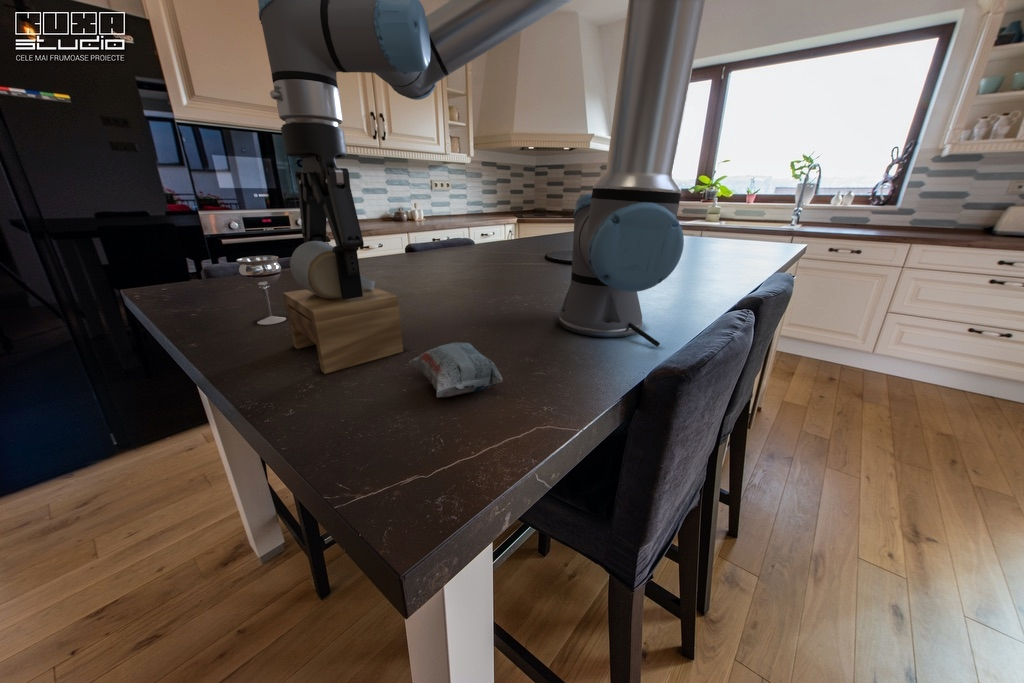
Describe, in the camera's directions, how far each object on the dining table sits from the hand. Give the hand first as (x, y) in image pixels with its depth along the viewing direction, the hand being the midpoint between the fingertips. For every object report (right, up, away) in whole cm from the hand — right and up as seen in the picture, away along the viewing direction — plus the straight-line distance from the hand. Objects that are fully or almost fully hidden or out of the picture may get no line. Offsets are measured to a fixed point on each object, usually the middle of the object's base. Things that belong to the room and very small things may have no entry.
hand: (338, 291), depth 60 cm
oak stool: (0, -9, +3) cm, 9 cm away
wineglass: (-21, -4, +17) cm, 27 cm away
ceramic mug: (0, -1, 0) cm, 1 cm away
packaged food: (+19, -14, -8) cm, 25 cm away
